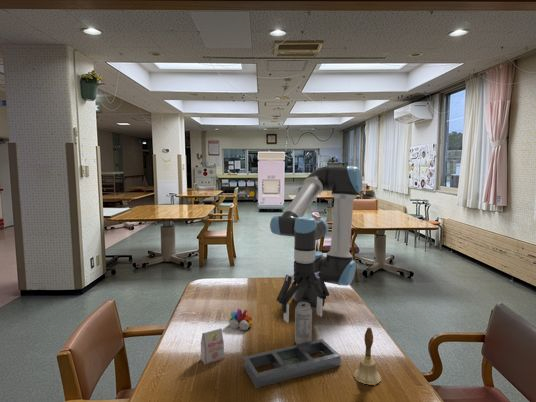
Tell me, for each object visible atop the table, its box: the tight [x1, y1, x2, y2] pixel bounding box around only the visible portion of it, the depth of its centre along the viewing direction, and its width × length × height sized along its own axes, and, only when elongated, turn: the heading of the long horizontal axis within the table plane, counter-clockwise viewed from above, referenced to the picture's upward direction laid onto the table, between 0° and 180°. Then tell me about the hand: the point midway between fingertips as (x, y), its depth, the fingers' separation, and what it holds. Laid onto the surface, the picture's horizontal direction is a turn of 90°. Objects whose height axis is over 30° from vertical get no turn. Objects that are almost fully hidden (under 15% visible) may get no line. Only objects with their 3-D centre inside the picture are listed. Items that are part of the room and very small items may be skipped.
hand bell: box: [353, 326, 382, 385], centre depth 106 cm, size 8×8×16 cm
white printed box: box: [200, 328, 225, 366], centre depth 116 cm, size 4×7×10 cm, turn 121°
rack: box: [242, 338, 342, 389], centre depth 112 cm, size 30×12×4 cm, turn 113°
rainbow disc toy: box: [228, 308, 253, 331], centre depth 139 cm, size 8×10×7 cm
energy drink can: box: [294, 302, 313, 345], centre depth 125 cm, size 6×6×15 cm
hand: (303, 317), depth 125 cm, fingers open, 13 cm apart
